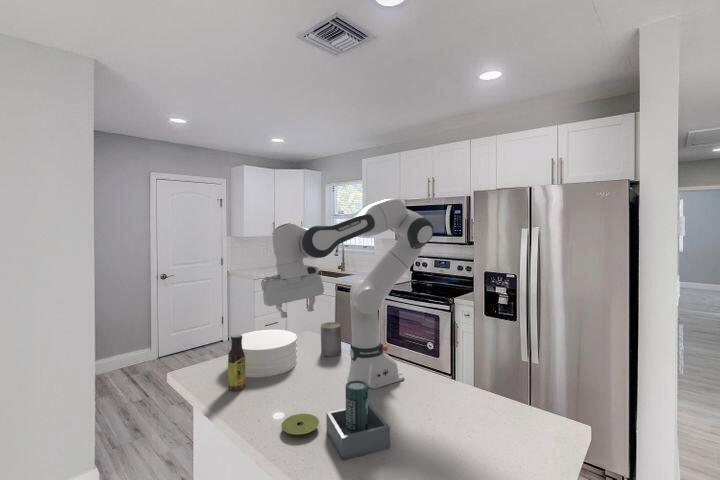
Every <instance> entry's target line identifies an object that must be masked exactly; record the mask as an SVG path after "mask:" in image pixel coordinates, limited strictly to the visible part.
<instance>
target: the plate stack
mask: <svg viewBox="0 0 720 480" xmlns="http://www.w3.org/2000/svg"><path fill="white" fill-rule="evenodd" d="M241 335H242V348H243V351H244V354H245V376H246V377H245V378H247V377H248V378H265V376H267V377H273V376H277V375H281V374H283V373H286V372H288V371H291V370H292V369H294V368H295V367H296V365H298V337H297V334H296V333H294V332H292V331H290V330H286V329H285V330H284V329H260V330H255V331H249V332H245V333H242V334H241ZM272 375H273V376H272Z"/></svg>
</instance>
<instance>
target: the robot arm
mask: <svg viewBox="0 0 720 480" xmlns="http://www.w3.org/2000/svg"><path fill="white" fill-rule="evenodd" d="M389 230H390V231H392V232H393V233H395V234H396V235H397V236H398V237H397V240H396V242H395V243H394V244H393V245H391V246H390V248H389V249H388V250H387V251H386V252H385V253H384V254H383V255H382V256H381V258H379V259H378V260H377V261H376V263H375V264H374V265H373V268H372V269H371V271H370V272H369V273H368V275H367V276H366V277H365V279H359V280H356V281H355V282H354V283H353V284H352V286H351V287H350V290H349V302H350V322H351V324H350V325H351V329H350V330H351V343H350V349H349V355H350V366H349V371H348V375H347V381H348V382H350V381H354V380H360V381H364V382H366V383H367V384H368V389H374V390H375V389H379V388H382V387H384V386H388V385H391V384H394V383H397V382H400V381H404V379H405V376H404V373H403V372H402V371H401V370H400V369H399V367H398V364H397V362H396V361H395V359H394V358H392V357H391V356H390V355H389V354H388V353H386V352H388V350H389V347H388V345H385V344H383V343H381V342H380V322H379V321H380V320H379V313H378V311H379V310H380V309H381V306H382V304H383V303H384V301H385V300H386V298H387V297H388V296H389V294H390V292H391V291H392V289H393V288H394V287H395V286H396V284H397V283H398V282H399V280H400V279H401V278H402V277H403V276H404V275H405V274H406V272H408V270H409V269H410V268H411V267H412V266H413V264H414V263H415V262H416V261H417V259H418V258H419V256H420V254H421V252H422V248H423V247H425V245H427V244H428V243H429V242H430V240H431V239H432V238H433V235H434V231H435V229H434V225H433V223H432V222H431V221H430V220H429V219H428V218H426V217H424V216H423V215H421V214H419V213H417V212H416V211H413V210H411V209H408V208H407V207H406V205H405V203H404V202H403V201H402V200H401V199H400V198H396V197H393V198H387V199H383V200H380V201H376V202H374V203H371V204H368V205H366V206H365V207H363V208H361V209H359V211H357V212H356V213H355V215H354V216H353V217H351V218H349V219H346V220H344V221H340V222H338V223H335V224H333V225H314V226H311V227H309V228H305V227H303V226H300V225H298V224H296V223H294V222H287V223H284V224H282V225H279V226H277V227H276V228H274V230H273V231H272V248H273V254H274V255H275V259H276V261H275V262H276V263H275V266H276V273H277V274H276V275H271V276H266V277H264V278H263V279H262V280H261V285H260V286H261V289H262V291H263V293H262V295H263V297H262V298H263V304H264V305H265V306H266V307H273V306H275V308H276V310H277V311H278V312H279V313H280V317H281V319H286V318H288V312H287V311H284V310H283V309H282V308H283V304H287V303H292V302H295V301H300V300H304V299H308V301H310V302H309V305H306V308H307V312H308V313H310V312H314V311H315V309H314V305H315V303H316V297H318V296H322V295H324V292H325V287H324V283H323V279H322V276H321V275H320V274H319V272H320V271H319V267H317V266H313V265H312V266H311V265H305V264H304V259H310V260H312V259H313V260H314V259H321V258H325V257H327V256H328V255H330V254H331V253H332V252H333V251H334V250H335V249H336V248H337V247H338V246H339V245H341V244H343V243H345V242H347V241H349V240H352V239H355V238H356V237H360V236H364V237H366V238H367V237H372V236H376V235H379V234H382V233H384V232H387V231H389Z"/></svg>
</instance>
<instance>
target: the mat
mask: <svg viewBox="0 0 720 480" xmlns="http://www.w3.org/2000/svg"><path fill="white" fill-rule="evenodd" d="M319 424H320V420H319V419H318V417H317V416H315V415H314V414H311V413H296V414H292V415H290V416H288V417H287V418H285V419H284V420H283V421H282V423H281V430H283V431H284V432H285V433H286V434H291V435H298V436H299V435H305V434H306V435H307V434H308V433H311V432H313V431H315V430H316V429H318V426H319Z"/></svg>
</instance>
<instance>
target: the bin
mask: <svg viewBox="0 0 720 480" xmlns="http://www.w3.org/2000/svg"><path fill="white" fill-rule="evenodd" d="M325 413H326V415H325V416H326V421H325V422H326V423H325V424H326V433H327V435H328V437H329V439H330V441H331V443H332V445H333V447H334V449H335V451H336V452H337V453H338V455H339V457H340V459H341V461H342V462H343V461H347V460H350V459H353V458H354V459H355V458H358V457H361V456H364V455H368V454H371V453H376V452H380V451H383V450H387V449H390V448H391V426H390V425H389V424H388V422H386V420H385V419H384V418H383V417H382V416H381V415H380V413H379V412H378V411H377V410H376V409H375V408H374V407H373V405H372V404H371V403H370V402H368V430H365V431H360V432H356V433H352V434H348V435H346V407H344V408H340V409H336V410H331V411H326V412H325Z"/></svg>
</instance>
